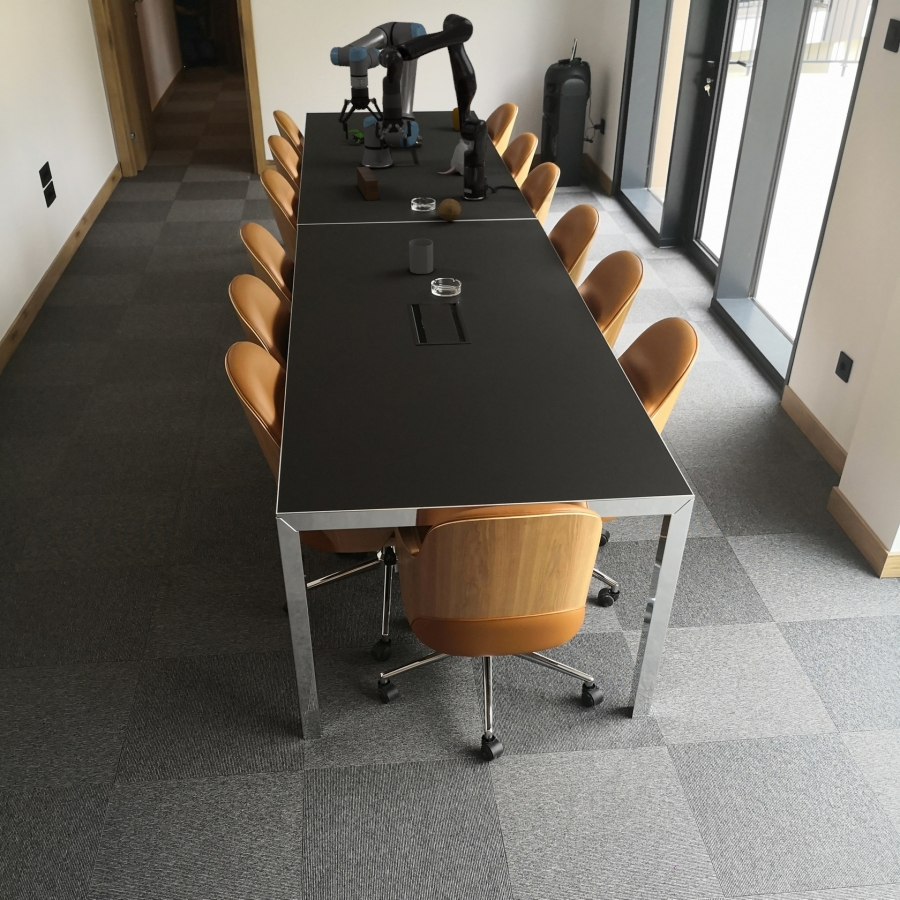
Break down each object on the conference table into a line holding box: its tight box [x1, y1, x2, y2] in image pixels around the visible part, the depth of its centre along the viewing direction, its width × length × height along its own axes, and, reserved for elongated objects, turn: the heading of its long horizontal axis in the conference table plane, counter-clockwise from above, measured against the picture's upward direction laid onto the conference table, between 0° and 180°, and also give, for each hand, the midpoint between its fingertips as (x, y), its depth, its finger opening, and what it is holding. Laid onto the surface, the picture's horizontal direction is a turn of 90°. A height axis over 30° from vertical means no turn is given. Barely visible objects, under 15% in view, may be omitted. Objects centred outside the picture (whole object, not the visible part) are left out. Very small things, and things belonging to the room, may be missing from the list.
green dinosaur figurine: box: [343, 129, 365, 146], centre depth 465 cm, size 6×13×30 cm
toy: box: [437, 138, 472, 176], centre depth 408 cm, size 9×24×15 cm, turn 137°
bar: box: [356, 166, 380, 201], centre depth 386 cm, size 24×5×8 cm, turn 14°
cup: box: [408, 237, 434, 275], centre depth 305 cm, size 8×8×10 cm
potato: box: [437, 198, 462, 222], centre depth 353 cm, size 10×14×8 cm
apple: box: [451, 106, 472, 132], centre depth 487 cm, size 11×11×13 cm
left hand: (362, 138), depth 383 cm, fingers open, 13 cm apart
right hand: (393, 148), depth 344 cm, fingers open, 8 cm apart
